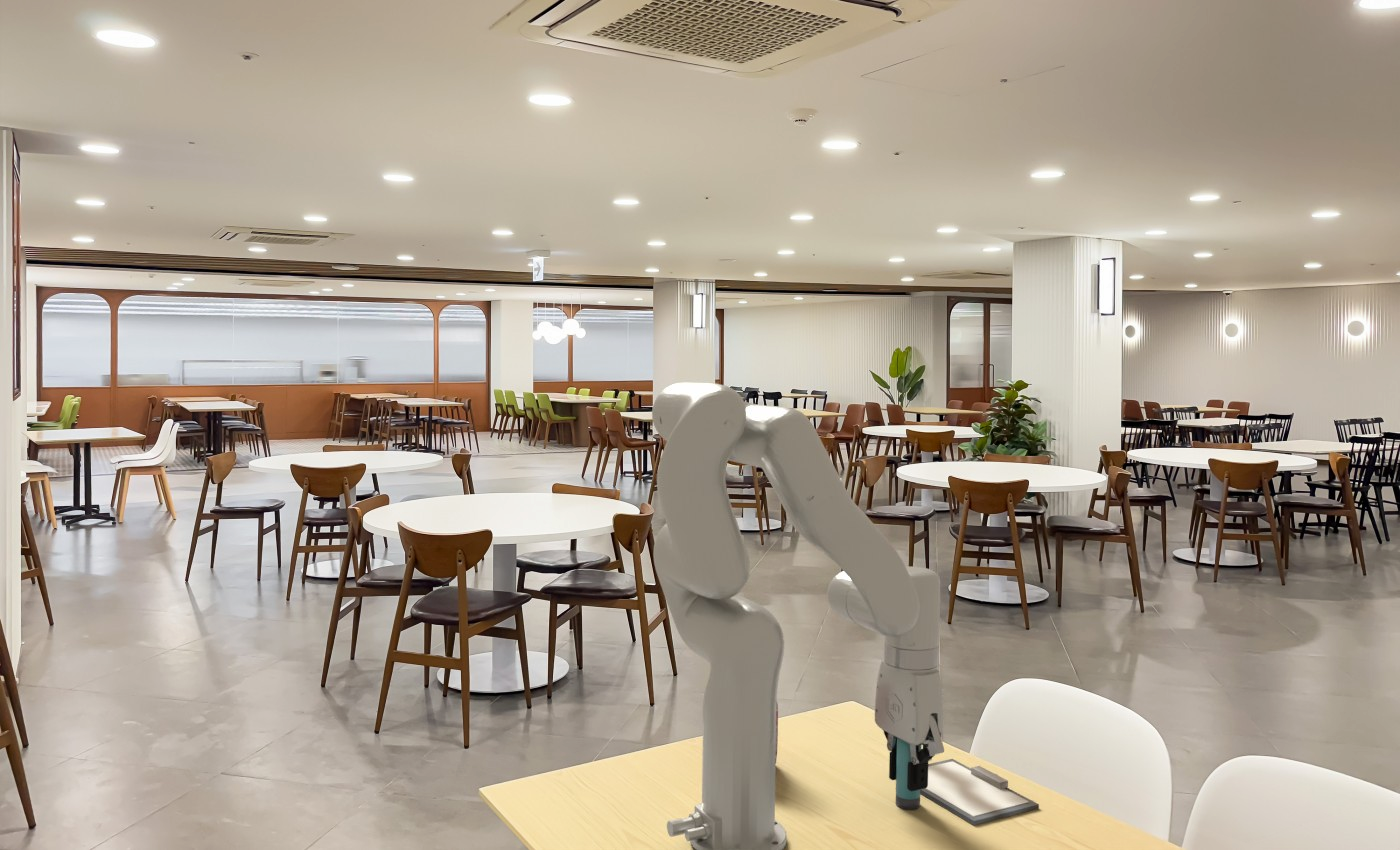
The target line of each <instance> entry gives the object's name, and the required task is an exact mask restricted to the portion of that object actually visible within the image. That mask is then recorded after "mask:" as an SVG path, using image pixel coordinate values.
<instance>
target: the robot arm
mask: <svg viewBox="0 0 1400 850" xmlns="http://www.w3.org/2000/svg"><path fill="white" fill-rule="evenodd" d="M651 415H652V418H651V419H652V422H653V426H654V428H655V430H656V432H657V433H658V435H659V436H660V437H661V438H662V440H665V442H666V444H665V445H664V448H663V451H662V454H661V457H660V459H659V464H658V468H657V473H656V487H657V488H656V489H657V493H658V499H659V503H660V506H661V510H662V512H663V518H664V520H665V524H664V525H663V526H662V527H661V528H660V530H659V531H658V534H657V535H656V537H655V540H654V545H653V563H654V567H655V568H654V569H655V572H656V574H657V578H658V580H659V581H658V582H659V584H660V586H661V589H662V592H663V595H664V599H665V601H666V603H667V606H668V608H669V611H670V615H671V617H672V620H673V622H674V625H675V627H676V631H677V632H678V634H679V636H680V639H681V640H682V641H683V642H684V644H685V645H686V646H687V647H688V648H689V649H690V650H691V651H692V652H694V653H695V654H697V655H698V656H699V657H702V658H703V659H704V660H706V661H707V662H708V663H710V669H709V670H710V671H709V676H708V679H707V683H706V687H705V691H704V695H703V704H702V763H701V764H702V772H701V773H702V777H701V780H702V781H701V782H702V783H701V786H702V787H701V792H702V793H701V803H698V804H694V813H690V814H689V815H688V817H684V818H676V819H672V820H668V821H667V824H666V829H667V834H668V836H670V837H671V838H672V837H676V836H682V835H684V838H685V840H686V842H690V844H691V845H692V847H693V848H694V849H695V850H784V848H785V847H786V844H787V831H786V829H785V827H784V826H783V824H782V823H780V822H779V821H778V820H777V819H775V816H776V815H775V814H776V764H777V759H776V704H777V703H778V686H779V680H780V674H781V669H782V666H783V659H784V654H785V636H784V632H783V630H782V627H781V625H780V622H779V621H778V620H777V618H776V617H775V616H774V615H773V613H771V612H770V611H769V610H768V609H767V608H765V607H764V606H763V605H761V604H759V603H757V602H755V601H752V600H751V599H748V598H746V597H744V596H741V595H739V594H740V592H742V590H743V589H744V588H745V587H746V585H747V583H748V582H749V577H750V574H751V573H750V572H751V561H750V557H749V552H748V549H747V546H746V544H745V543H746V542H745V541H744V538H743V535H742V532H741V529H740V526H739V524H738V521H737V518H736V515H735V512H734V509H733V506H732V504H731V500H730V497H729V491H728V487H727V483H726V471H727V470H726V469H727V465H728V462H729V461H730V462H732V463H733V462H734V463H738V464H743V465H747V466H752V467H757V468H760V469H762V471H763V473H764V474H765V476H766V478H767V480H768V482H769V484H771V487H772V488H773V491H774V492H775V494H776V495H777V499H778V500H779V501H780V503H781V505H782V507H783V509H784V512H785V514H786V515H787V517H788V519H789V521H790V523H791V524H792V526H793V528H794V530H796V532H798V534H799V535H801V537H803V538H804V540H806V541H807V542H808V543H809V544H810V545H812V546H813V547H814V548H815V549H817V550H819V551H820V552H821V553H823V554H824V555H826V556H827V557H828V558H829V559H830V560H832V561H833V562H834V563H835V564H837V566H838V567H839V568H840V569H842V571H840V572H839V573H837V574H836V575H835V576H834V577H833V578H832V579H831V581H830V582H829V585H828V588H827V601H828V603H829V606H830V607H831V609H832V610H833V612H835V613H836V615H838V616H839V617H840V618H842V619H844V620H846V621H848V622H850V623H853V624H855V625H857V626H860V627H863V628H865V629H867V630H870V631H872V632H874V633H877V634H879V635H882V636H884V639H883V641H884V646H883V648H884V649H883V651H884V653H883V659H881V662H880V665H879V670H878V674H877V681H876V687H875V688H876V689H875V699H874V701H875V702H874V723H875V724H876V726H877V727H878V728H880V729H881V730H882V731H883V735H884V736H885V738H886V748H887V750H888V751H889V760H888V761H889V763H888V765H889V766H888V767H889V769H888V770H889V771H888V778H889V780H891V781H896V762H897V738H899V739H901V740H903V741H905V742H906V743H908V744H910V752H911V762H908V775H907V789H908V790H910V791H916V790H920V789H924V788H927V786H928V764H929V762H932V761H933V758H934V757H935V756H936V755H939V754H943V753H944V752H945V747H944V744H943V741H942V737H943V729H944V704H943V703H944V701H943V699H944V698H943V689H942V680H941V674H940V673H941V672H940V671H939V656H940V655H939V653H940V651H939V650H940V649H939V648H940V619H941V618H940V617H941V614H940V613H941V612H940V611H941V608H940V607H941V579H940V576H939V575H938V573H937V572H935V571H934V570H932V569H930V568H927V567H920V566H906V565H905V563H904V561H903V560H902V557H901V556H900V555H899V553H898V552H897V550H896V549H895V547H894V546H893V545H892V543H891V542H890V541H889V540H888V538H887V537H886V536H885V535H884V534H883V532H882V531H881V530H880V529H879V528H878V527H877V526H876V525H875V524H874V522H872V520H871V519H870V518H869V517H868V516H867V515H866V513H865V512H864V511H863V510H862V509H861V508H860V506H858V505H857V504H856V503H855V502H854V501H853V499H852V497H851V496H850V494H849V493H848V491H847V489H846V486H845V484H844V483H843V481H842V478H840V474H839V473H838V471H837V469H836V467H835V465H834V463H833V461H832V459H831V457H830V456H829V454H828V451H827V449H826V447H825V446H824V444H823V441H822V439H821V437H820V436H819V434H818V431H817V429H816V428H815V426H814V425H813V423H812V421H811V420H810V419H809V418H808V416H807V415H806V414H804V413H803V412H801V411H800V410H798V409H795V408H793V407H792V408H791V407H786V406H778V405H776V406H775V405H762V404H756V403H752V402H748V401H745V400H744V399H743V398H742V396H741V395H740V393H738V391H736V390H735V389H734V388H732V387H729V386H728V385H724V384H720V383H714V382H687V381H686V382H677V383H673V384H671V385H669V386H667V387H665V388H664V389H663V390H661V392H659V394H658V395H657V396H656V398H655V400H654V403H653V405H652V410H651ZM919 745H921V746H922V748H921V750H920V751H919ZM775 763H776V764H775Z"/></svg>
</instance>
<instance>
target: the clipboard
mask: <svg viewBox="0 0 1400 850" xmlns="http://www.w3.org/2000/svg"><path fill="white" fill-rule="evenodd" d="M920 795H922V796H924V797H925V798H926V799H929V800H931V801H933V803H936V804H937V805H939V806H941V808H944V809H945V810H947V811H949V812H950V813H953V814H954V816H955V815H956V816H957V817H959V818H961V819H962V820H964V821H966V822H967V823H969V824H970V825H972V826H976V825H980V824H984V823H988V822H991V821H996V820H1000V819H1003V818H1008V817H1011V816H1015V815H1019V814H1023V813H1027V812H1031V811H1035V810H1038V809H1039V808H1040V804H1039V803H1037V802H1036V801H1034V800H1033V799H1032V800H1031V799H1029V798H1028V797H1026V796H1024V795H1022V794H1020V793H1019V792H1017V791H1014V790H1013V789H1010V788H1009V779H1005V778H1004V777H1002V776H1000V775H998V774H996V773H994V772H992V771H990V770H989V769H986V768H984V766H981V765H978V766H977V765H976V766H973V767H969V766H967V765H965V764H963V763H961V762H959V761H957V760H956V759H953V758H950V759H944V760H942V761H941V760H940V761H935V762H931V763H928V786H927V788H924V789H920Z"/></svg>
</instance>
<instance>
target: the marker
mask: <svg viewBox="0 0 1400 850" xmlns="http://www.w3.org/2000/svg"><path fill="white" fill-rule="evenodd" d="M921 749H922V745H919V751H920V750H921ZM908 762H911V752H910V744H908V743H906V742H905V741H903V740H901V739H899V738H897V762H896V780H895V806H896V807H898V808H900V809H901V810H906V811H914V810H918V809H920V807H921V794H920V790H916V791H910V790H908V789H907V775H908Z"/></svg>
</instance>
